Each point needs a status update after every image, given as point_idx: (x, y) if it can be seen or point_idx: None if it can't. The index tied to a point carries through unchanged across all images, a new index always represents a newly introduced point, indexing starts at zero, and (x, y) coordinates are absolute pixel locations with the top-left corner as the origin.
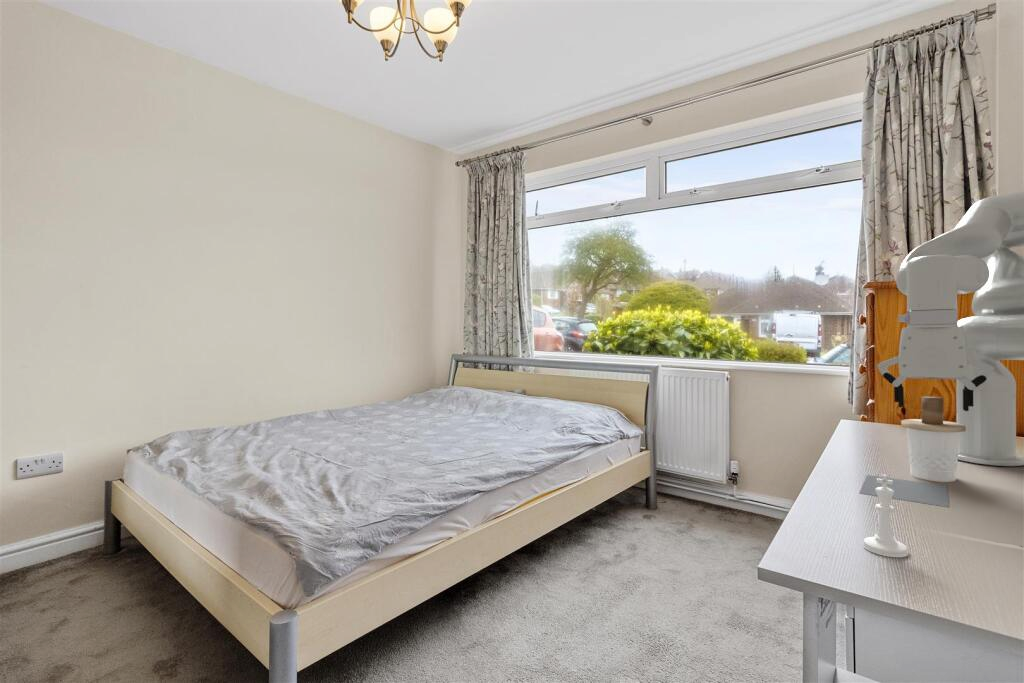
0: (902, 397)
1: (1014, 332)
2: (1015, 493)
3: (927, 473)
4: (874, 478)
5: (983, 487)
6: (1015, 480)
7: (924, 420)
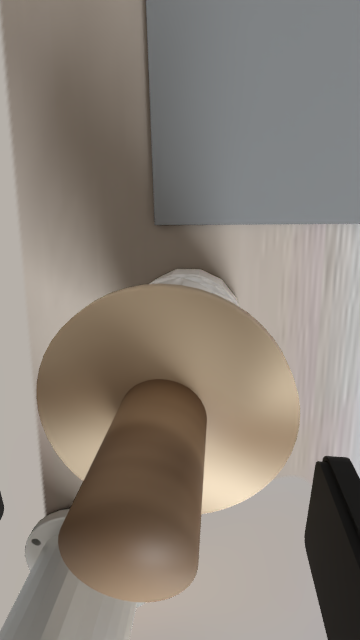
0: (346, 522)
1: None
2: (23, 270)
3: (199, 272)
4: (346, 184)
5: (83, 290)
6: (35, 401)
7: (193, 403)
